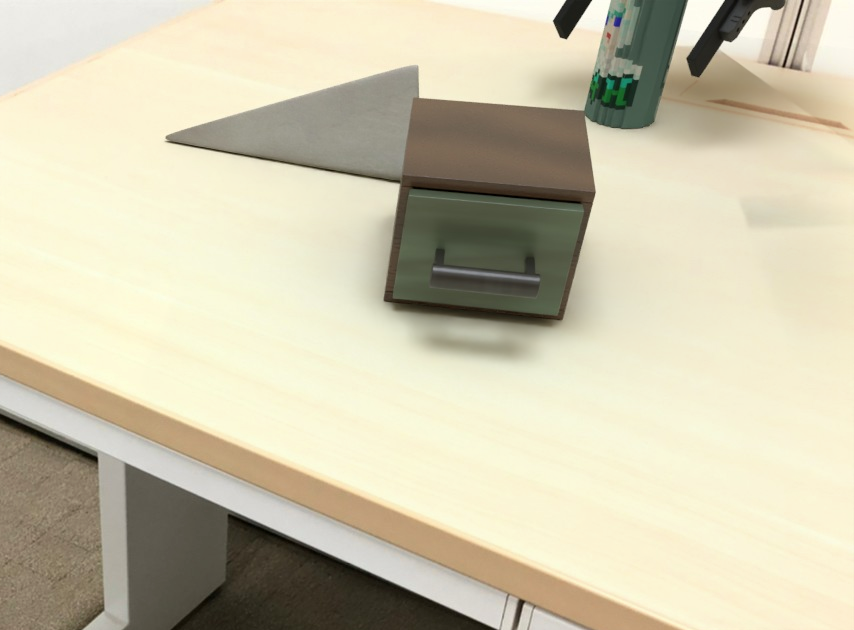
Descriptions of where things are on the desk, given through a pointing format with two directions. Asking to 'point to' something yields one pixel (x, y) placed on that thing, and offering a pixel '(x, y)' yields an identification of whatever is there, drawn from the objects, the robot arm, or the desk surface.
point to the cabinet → (495, 164)
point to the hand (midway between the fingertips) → (623, 49)
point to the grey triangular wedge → (324, 127)
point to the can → (633, 61)
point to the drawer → (486, 250)
